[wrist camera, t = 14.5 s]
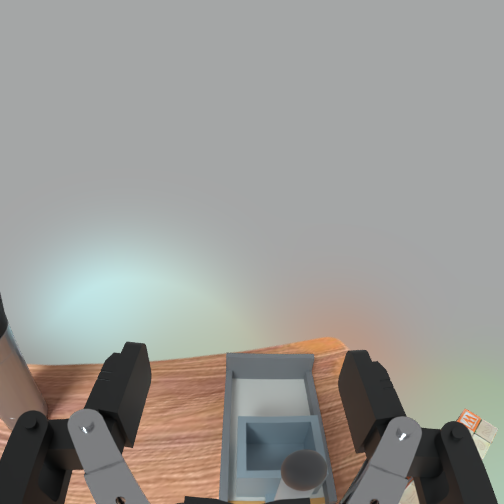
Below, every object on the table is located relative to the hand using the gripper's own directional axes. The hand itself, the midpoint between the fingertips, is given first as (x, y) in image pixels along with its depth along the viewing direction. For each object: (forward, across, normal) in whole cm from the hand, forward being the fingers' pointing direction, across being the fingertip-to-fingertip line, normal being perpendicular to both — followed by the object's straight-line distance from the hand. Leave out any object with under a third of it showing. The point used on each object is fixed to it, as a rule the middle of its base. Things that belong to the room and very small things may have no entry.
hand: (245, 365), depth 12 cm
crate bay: (+17, -5, +32) cm, 37 cm away
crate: (+8, -5, +31) cm, 32 cm away
